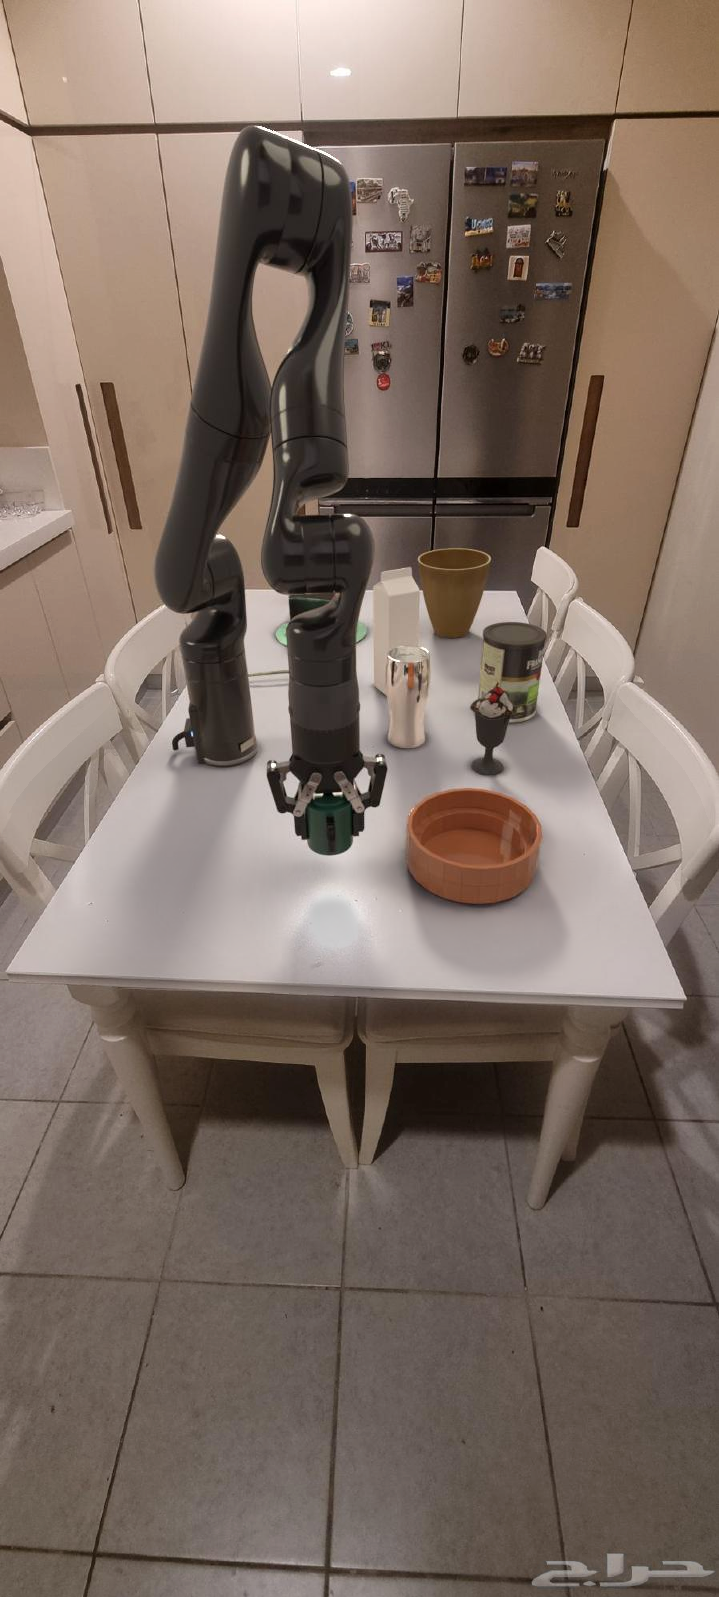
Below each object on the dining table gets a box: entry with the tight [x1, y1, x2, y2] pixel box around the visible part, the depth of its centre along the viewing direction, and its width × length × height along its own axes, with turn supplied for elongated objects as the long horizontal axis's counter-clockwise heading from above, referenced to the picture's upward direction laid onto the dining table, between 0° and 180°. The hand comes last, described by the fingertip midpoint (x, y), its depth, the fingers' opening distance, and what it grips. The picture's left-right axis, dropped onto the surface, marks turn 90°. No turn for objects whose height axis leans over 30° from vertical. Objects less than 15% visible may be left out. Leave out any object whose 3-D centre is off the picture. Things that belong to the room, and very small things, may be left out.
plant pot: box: [417, 547, 492, 639], centre depth 148 cm, size 15×15×16 cm
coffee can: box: [477, 621, 548, 724], centre depth 118 cm, size 10×10×14 cm
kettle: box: [305, 791, 354, 857], centre depth 83 cm, size 10×6×8 cm, turn 5°
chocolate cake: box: [275, 592, 368, 647], centre depth 152 cm, size 15×19×20 cm
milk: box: [372, 566, 421, 697], centre depth 123 cm, size 6×6×22 cm
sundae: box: [469, 682, 517, 776], centre depth 102 cm, size 7×7×15 cm
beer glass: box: [385, 645, 431, 749], centre depth 110 cm, size 7×7×15 cm
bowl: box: [405, 787, 543, 905], centre depth 86 cm, size 16×16×6 cm
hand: (329, 833), depth 84 cm, fingers closed on kettle, 5 cm apart
